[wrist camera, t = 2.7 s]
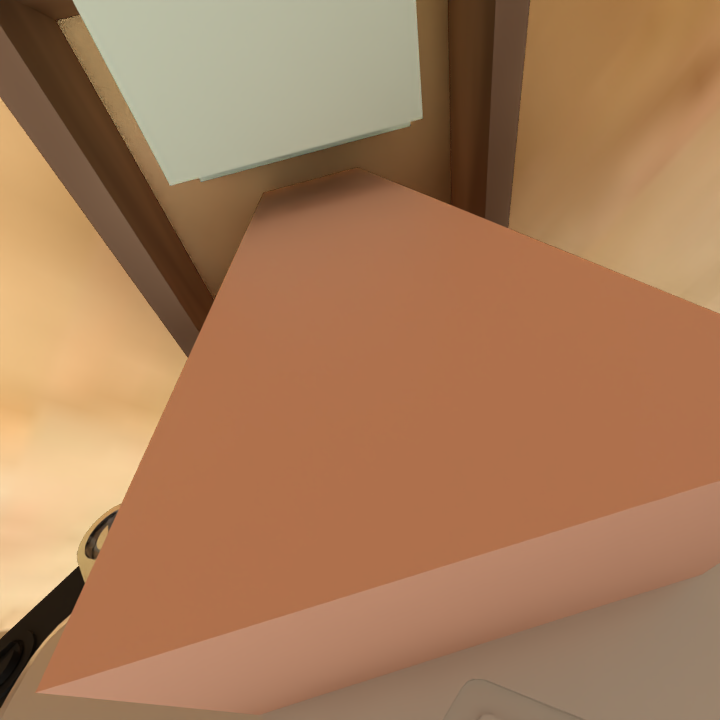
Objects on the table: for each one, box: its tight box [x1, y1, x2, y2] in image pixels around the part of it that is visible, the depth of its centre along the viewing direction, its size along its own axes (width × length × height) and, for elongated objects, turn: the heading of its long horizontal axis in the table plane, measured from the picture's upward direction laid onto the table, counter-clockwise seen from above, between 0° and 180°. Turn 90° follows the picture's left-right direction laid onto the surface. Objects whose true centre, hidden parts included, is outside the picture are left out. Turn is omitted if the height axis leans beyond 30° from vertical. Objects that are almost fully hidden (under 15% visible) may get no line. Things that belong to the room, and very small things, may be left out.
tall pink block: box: [35, 167, 720, 715], centre depth 10 cm, size 4×10×14 cm, turn 12°
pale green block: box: [73, 0, 423, 186], centre depth 8 cm, size 7×4×6 cm, turn 102°
